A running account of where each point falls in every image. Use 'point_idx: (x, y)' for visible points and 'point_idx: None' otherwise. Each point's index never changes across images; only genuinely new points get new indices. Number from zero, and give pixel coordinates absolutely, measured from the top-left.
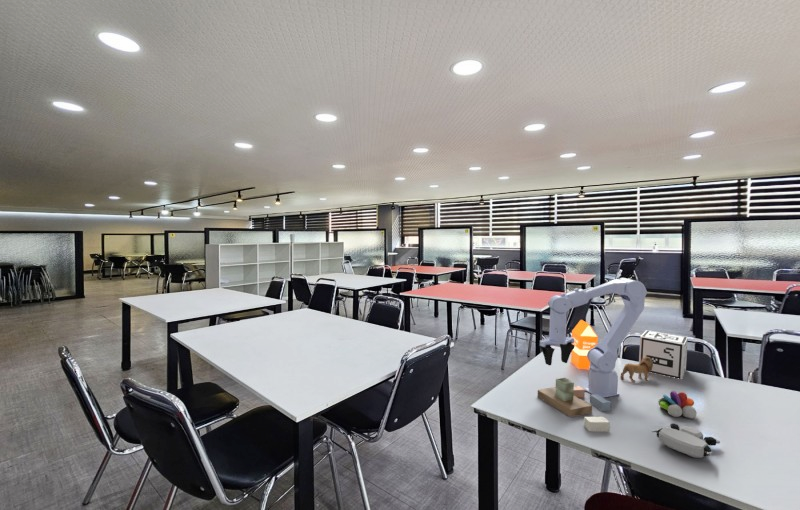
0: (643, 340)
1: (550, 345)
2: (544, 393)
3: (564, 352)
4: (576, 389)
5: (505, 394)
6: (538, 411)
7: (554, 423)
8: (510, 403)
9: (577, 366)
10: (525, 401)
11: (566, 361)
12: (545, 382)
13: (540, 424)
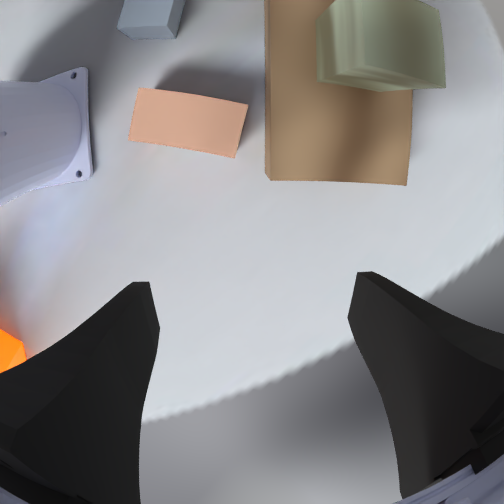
0: None
1: (484, 460)
2: (407, 139)
3: (121, 393)
4: (188, 101)
5: (461, 239)
6: (459, 86)
7: (455, 13)
8: (489, 178)
9: (22, 352)
10: (451, 165)
11: (139, 288)
12: (227, 293)
13: (487, 40)
